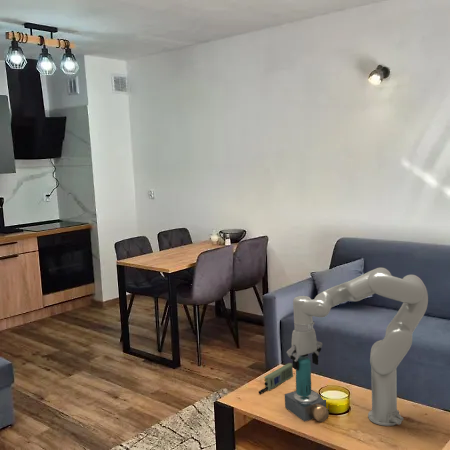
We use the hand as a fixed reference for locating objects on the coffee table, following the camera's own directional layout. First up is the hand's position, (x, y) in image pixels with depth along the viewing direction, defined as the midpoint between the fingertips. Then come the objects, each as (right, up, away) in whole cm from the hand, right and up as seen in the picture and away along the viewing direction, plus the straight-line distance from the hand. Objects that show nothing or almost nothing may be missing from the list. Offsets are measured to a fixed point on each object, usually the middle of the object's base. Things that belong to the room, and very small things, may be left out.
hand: (305, 366), depth 211 cm
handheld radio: (-9, -17, +29) cm, 34 cm away
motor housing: (+2, -19, +1) cm, 19 cm away
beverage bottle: (-1, -13, +1) cm, 13 cm away
